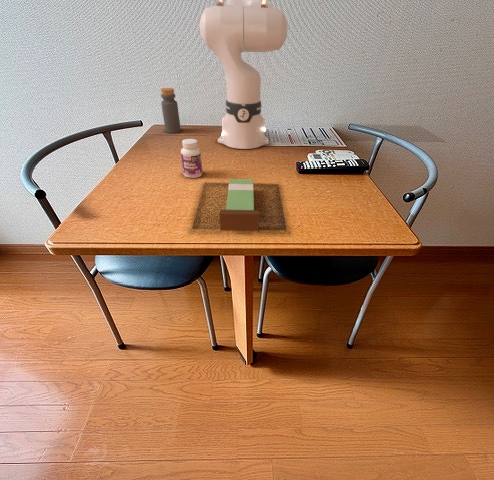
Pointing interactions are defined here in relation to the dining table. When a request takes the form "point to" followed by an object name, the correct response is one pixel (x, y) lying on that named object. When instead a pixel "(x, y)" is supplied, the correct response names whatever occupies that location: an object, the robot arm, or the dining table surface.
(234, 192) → the block
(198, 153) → the pill bottle
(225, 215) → the mat
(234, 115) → the robot arm
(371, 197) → the dining table surface
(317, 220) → the dining table surface
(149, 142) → the dining table surface
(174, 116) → the bottle
